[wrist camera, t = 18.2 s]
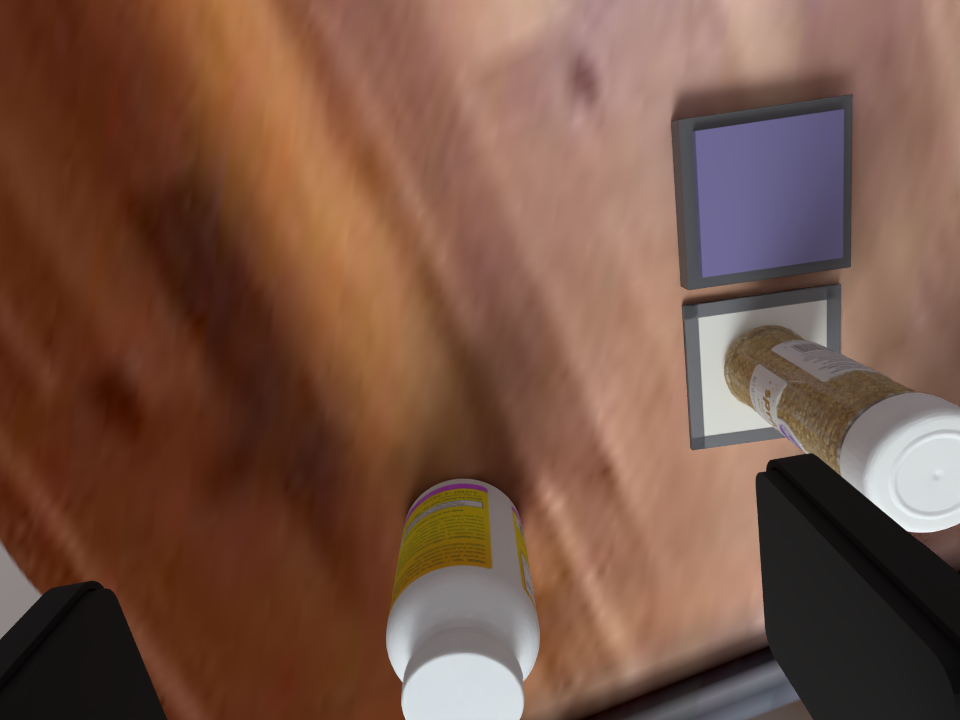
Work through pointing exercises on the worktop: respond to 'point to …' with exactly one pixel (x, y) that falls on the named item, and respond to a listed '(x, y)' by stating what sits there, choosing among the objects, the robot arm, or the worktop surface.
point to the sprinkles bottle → (855, 423)
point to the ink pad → (763, 192)
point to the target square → (714, 334)
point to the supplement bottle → (463, 606)
